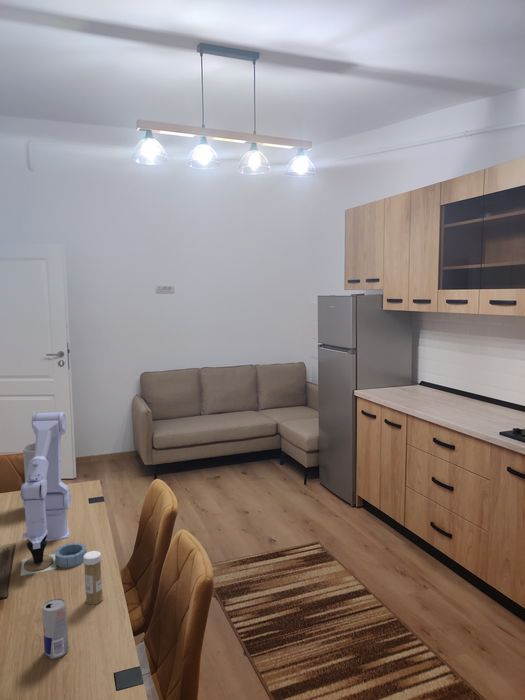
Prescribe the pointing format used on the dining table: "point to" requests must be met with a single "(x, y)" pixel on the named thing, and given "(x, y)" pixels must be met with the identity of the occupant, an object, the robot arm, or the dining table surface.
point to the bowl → (70, 555)
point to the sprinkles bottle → (93, 577)
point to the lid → (33, 567)
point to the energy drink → (55, 628)
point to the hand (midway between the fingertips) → (38, 560)
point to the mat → (25, 572)
